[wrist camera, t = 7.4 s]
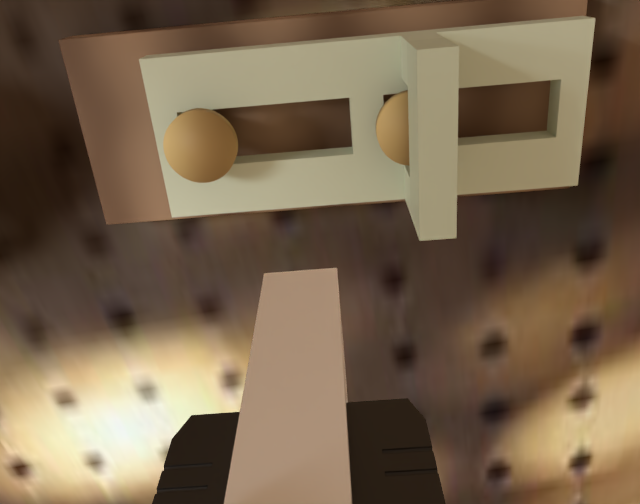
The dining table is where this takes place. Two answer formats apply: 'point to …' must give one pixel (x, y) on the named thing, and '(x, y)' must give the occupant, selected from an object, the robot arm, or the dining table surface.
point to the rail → (275, 119)
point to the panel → (365, 103)
